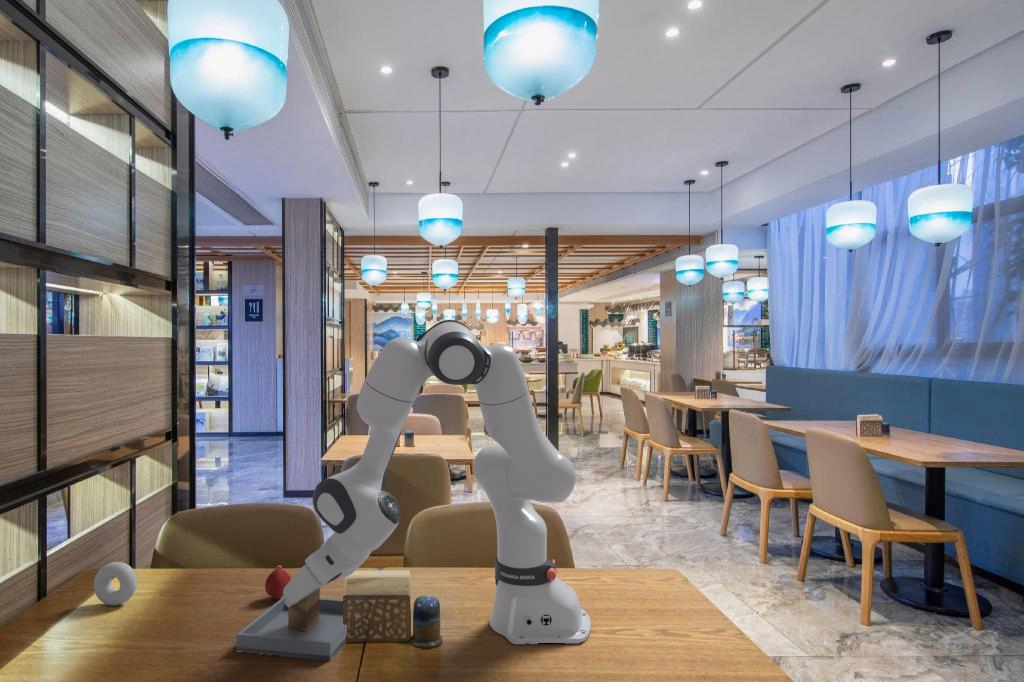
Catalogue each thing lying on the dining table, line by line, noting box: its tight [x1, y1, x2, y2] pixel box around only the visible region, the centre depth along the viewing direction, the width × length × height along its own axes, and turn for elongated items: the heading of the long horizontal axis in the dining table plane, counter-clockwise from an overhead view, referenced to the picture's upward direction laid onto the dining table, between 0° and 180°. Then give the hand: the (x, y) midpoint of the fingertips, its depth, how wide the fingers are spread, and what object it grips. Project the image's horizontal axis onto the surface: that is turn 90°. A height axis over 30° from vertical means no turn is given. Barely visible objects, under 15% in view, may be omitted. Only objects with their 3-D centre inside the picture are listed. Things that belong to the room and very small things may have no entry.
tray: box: [235, 595, 347, 662], centre depth 118 cm, size 20×18×4 cm
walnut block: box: [288, 587, 321, 632], centre depth 119 cm, size 4×4×10 cm
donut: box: [93, 561, 138, 607], centre depth 130 cm, size 10×4×10 cm, turn 85°
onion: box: [264, 565, 292, 600], centre depth 134 cm, size 6×6×8 cm
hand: (302, 593), depth 119 cm, fingers open, 8 cm apart
